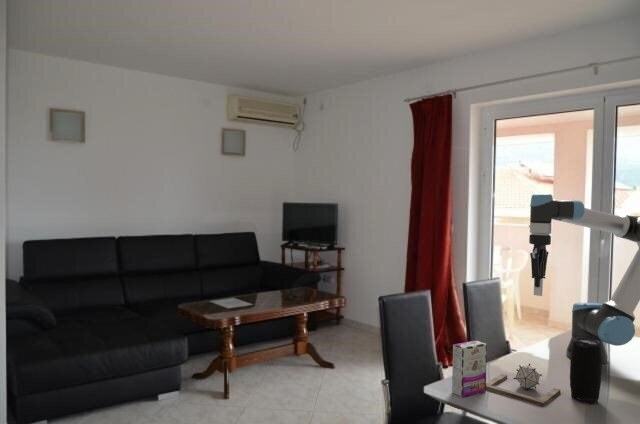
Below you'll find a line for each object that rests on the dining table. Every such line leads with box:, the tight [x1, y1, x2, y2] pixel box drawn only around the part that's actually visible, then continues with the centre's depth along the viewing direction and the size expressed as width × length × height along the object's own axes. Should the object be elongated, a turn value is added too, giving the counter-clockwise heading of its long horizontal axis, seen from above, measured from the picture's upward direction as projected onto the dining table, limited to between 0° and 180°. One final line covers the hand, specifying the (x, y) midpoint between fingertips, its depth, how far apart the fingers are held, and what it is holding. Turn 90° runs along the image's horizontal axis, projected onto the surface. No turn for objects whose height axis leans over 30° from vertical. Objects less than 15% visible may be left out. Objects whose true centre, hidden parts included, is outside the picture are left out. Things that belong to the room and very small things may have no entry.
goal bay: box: [486, 373, 561, 407], centre depth 163 cm, size 16×20×1 cm
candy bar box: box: [451, 339, 488, 399], centre depth 160 cm, size 11×5×16 cm, turn 119°
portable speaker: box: [569, 337, 603, 405], centre depth 157 cm, size 9×9×20 cm
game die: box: [512, 363, 543, 392], centre depth 166 cm, size 9×8×10 cm
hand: (537, 295), depth 186 cm, fingers closed
